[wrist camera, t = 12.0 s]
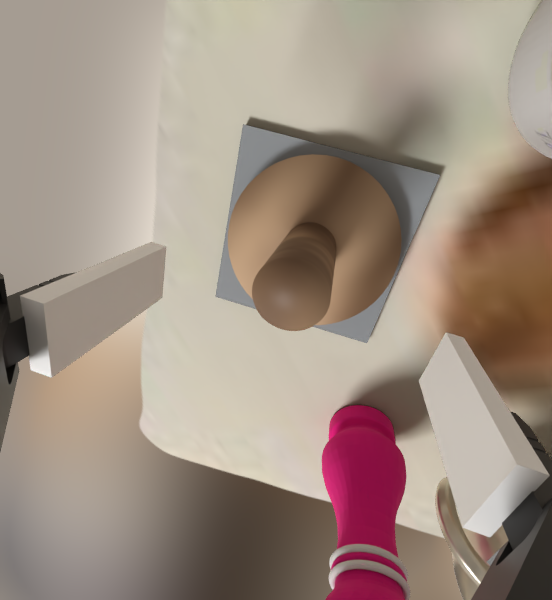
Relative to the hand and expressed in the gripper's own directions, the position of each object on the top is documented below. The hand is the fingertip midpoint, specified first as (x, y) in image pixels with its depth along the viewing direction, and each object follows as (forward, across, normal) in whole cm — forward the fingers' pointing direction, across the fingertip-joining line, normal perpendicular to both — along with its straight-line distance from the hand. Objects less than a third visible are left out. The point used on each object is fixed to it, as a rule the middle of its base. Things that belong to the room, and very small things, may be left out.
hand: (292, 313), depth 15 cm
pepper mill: (+13, -9, +17) cm, 23 cm away
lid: (+12, 0, 0) cm, 12 cm away
